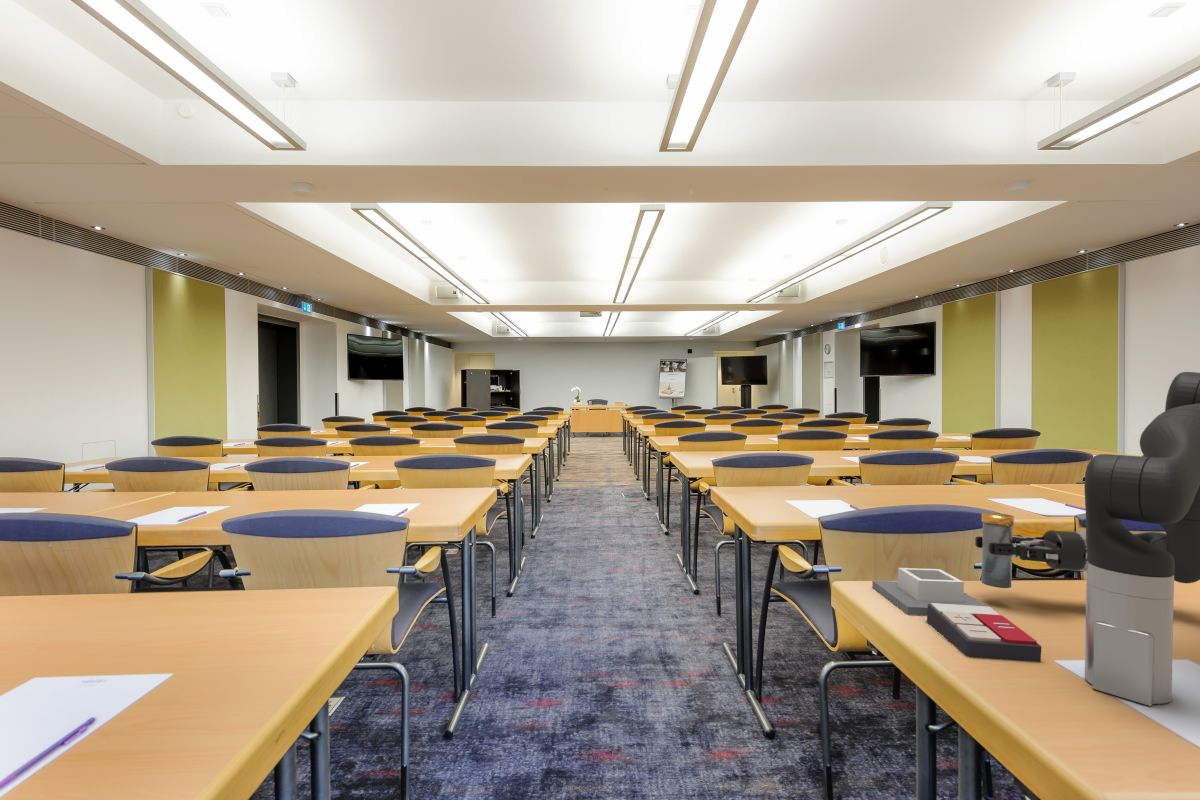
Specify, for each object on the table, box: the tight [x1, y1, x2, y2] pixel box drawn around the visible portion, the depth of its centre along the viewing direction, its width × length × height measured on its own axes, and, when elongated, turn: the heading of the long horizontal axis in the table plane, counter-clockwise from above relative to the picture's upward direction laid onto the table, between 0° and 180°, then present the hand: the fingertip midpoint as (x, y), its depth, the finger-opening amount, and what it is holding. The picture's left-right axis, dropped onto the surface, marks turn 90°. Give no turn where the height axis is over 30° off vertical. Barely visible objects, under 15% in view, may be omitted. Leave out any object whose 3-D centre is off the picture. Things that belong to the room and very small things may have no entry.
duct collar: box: [871, 567, 996, 617], centre depth 117 cm, size 16×16×6 cm
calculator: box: [926, 603, 1042, 663], centre depth 99 cm, size 11×4×15 cm
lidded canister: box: [980, 512, 1015, 589], centre depth 117 cm, size 5×5×14 cm
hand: (983, 545), depth 117 cm, fingers closed on lidded canister, 5 cm apart
